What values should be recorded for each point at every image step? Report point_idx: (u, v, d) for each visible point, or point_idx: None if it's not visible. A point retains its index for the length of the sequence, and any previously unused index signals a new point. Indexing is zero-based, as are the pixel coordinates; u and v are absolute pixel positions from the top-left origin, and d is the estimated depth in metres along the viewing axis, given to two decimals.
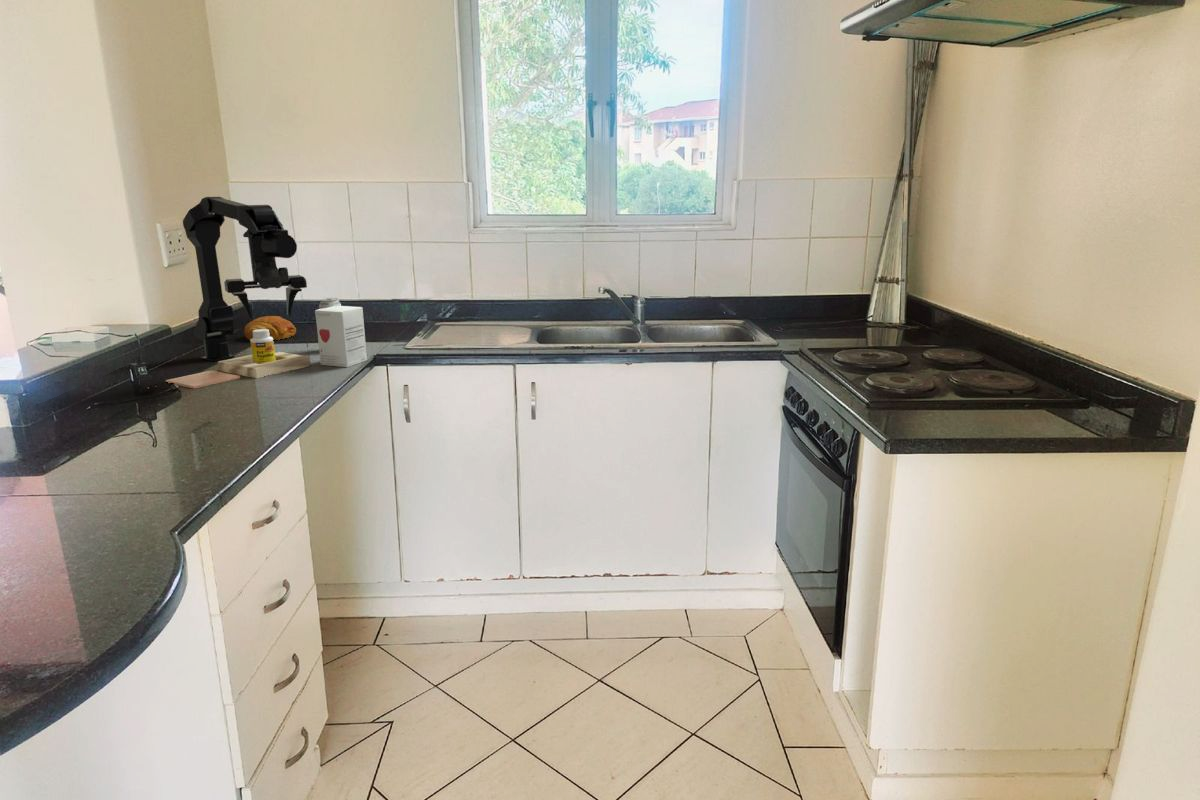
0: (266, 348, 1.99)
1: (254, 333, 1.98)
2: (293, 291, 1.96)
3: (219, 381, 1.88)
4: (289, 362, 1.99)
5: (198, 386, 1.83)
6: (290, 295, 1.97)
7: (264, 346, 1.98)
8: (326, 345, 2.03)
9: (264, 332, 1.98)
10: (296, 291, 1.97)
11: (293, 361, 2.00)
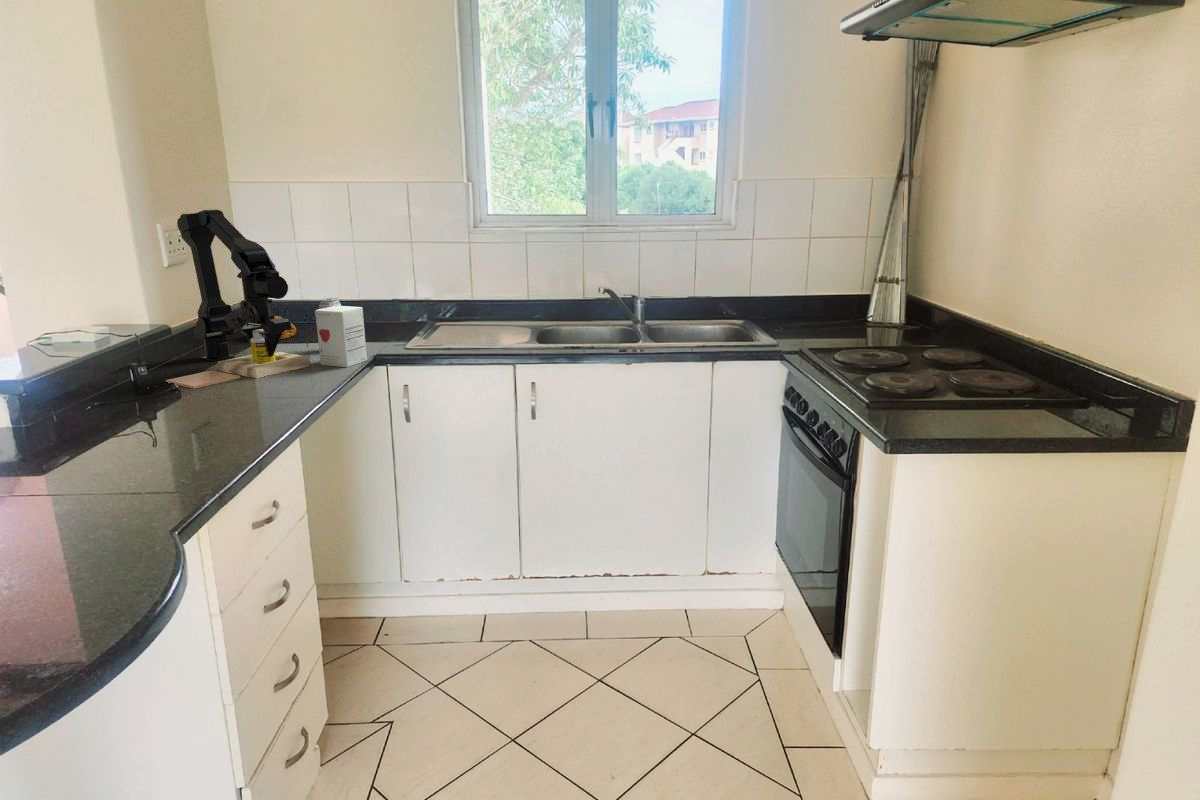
0: None
1: (254, 333, 1.98)
2: (261, 333, 1.95)
3: (219, 381, 1.88)
4: (289, 362, 1.99)
5: (198, 386, 1.83)
6: None
7: (264, 346, 1.98)
8: (326, 345, 2.03)
9: None
10: (263, 334, 1.95)
11: (293, 361, 2.00)
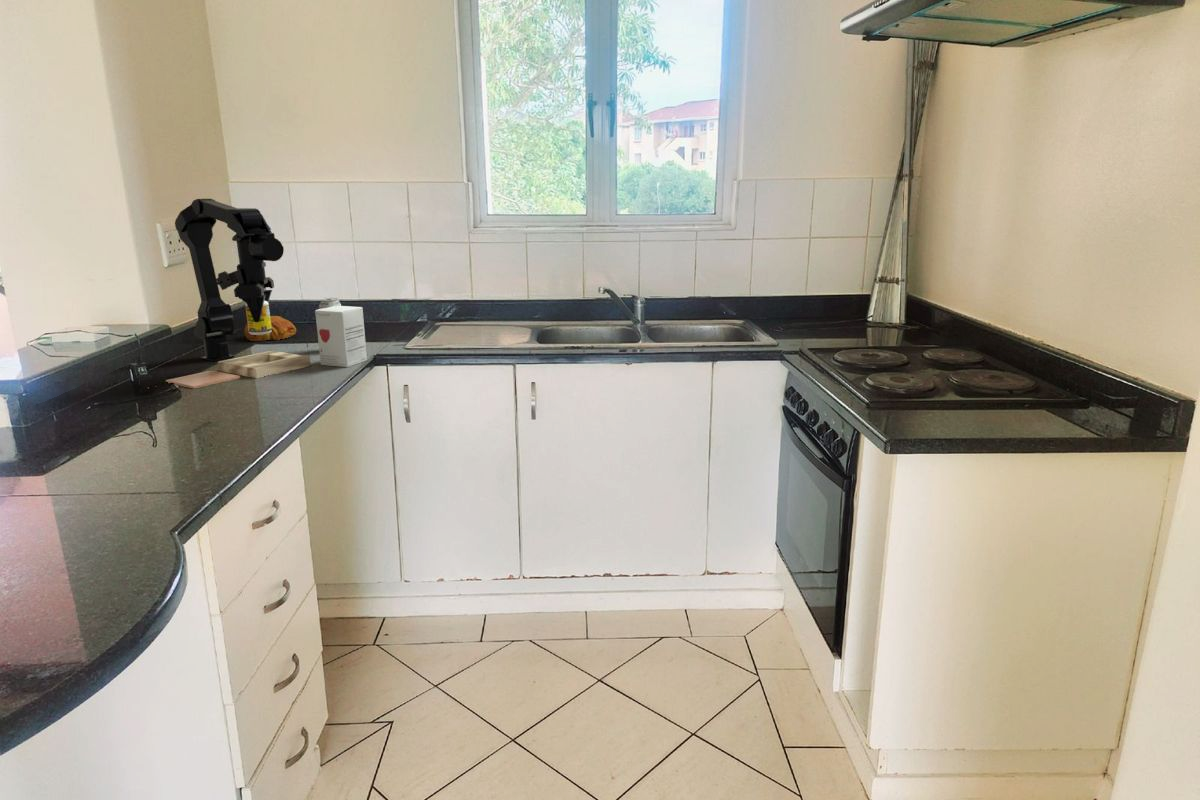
0: None
1: None
2: None
3: (219, 381, 1.88)
4: (289, 362, 1.99)
5: (198, 386, 1.83)
6: None
7: None
8: (326, 345, 2.03)
9: None
10: None
11: (293, 361, 2.00)
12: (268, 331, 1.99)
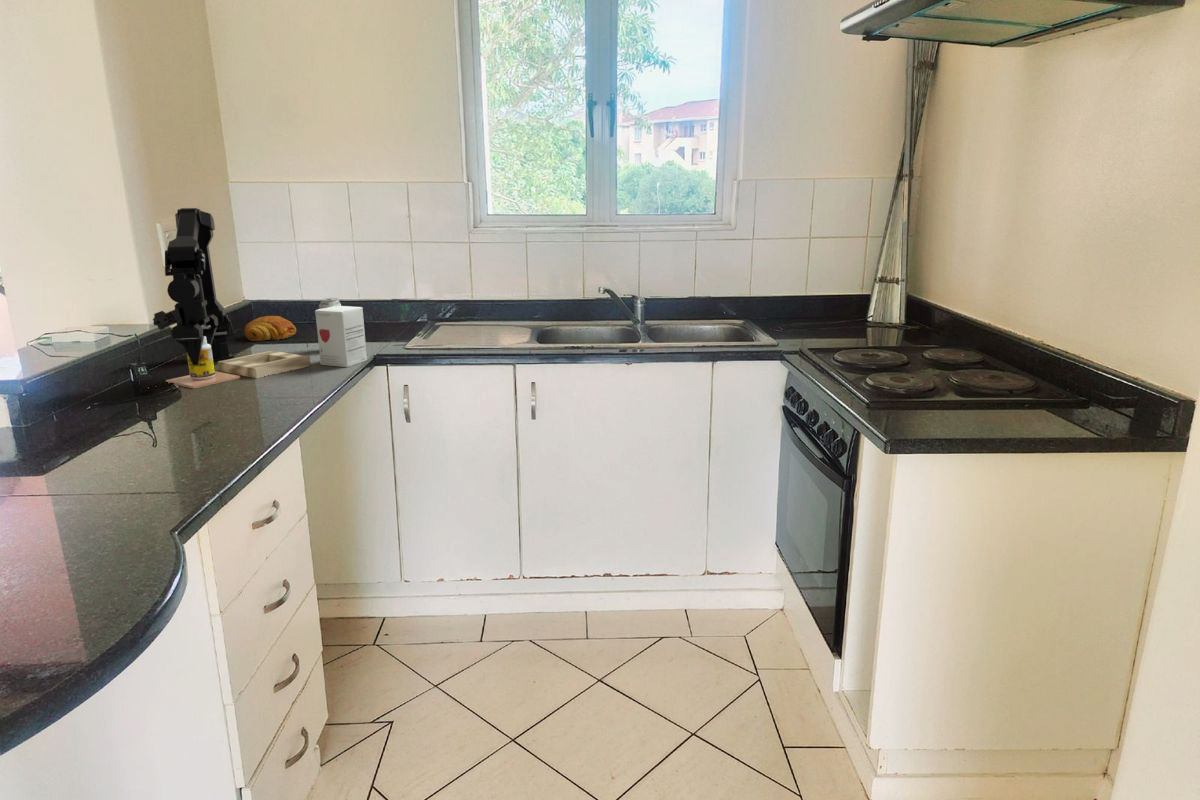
0: None
1: None
2: None
3: (219, 381, 1.88)
4: (289, 362, 1.99)
5: (198, 386, 1.83)
6: None
7: None
8: (326, 345, 2.03)
9: None
10: None
11: (293, 361, 2.00)
12: (211, 376, 1.89)
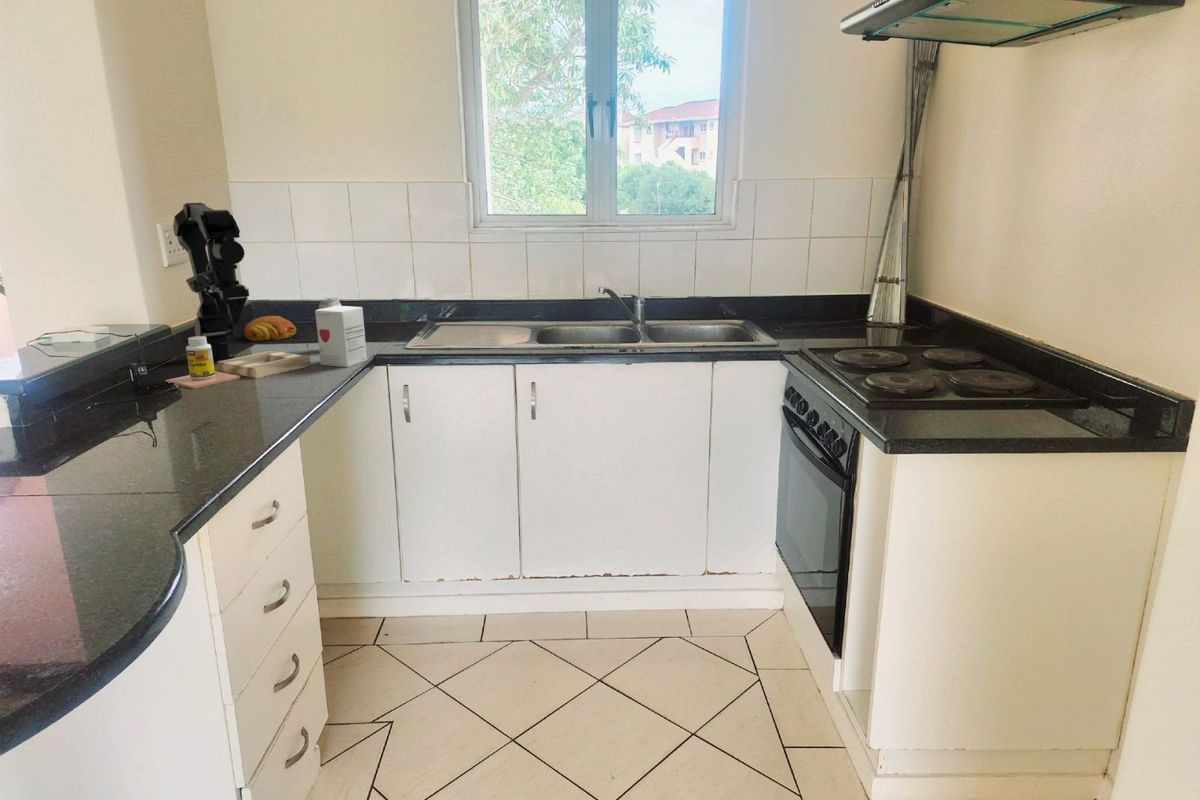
0: (197, 357, 1.86)
1: (188, 340, 1.87)
2: (221, 300, 1.91)
3: (219, 381, 1.88)
4: (289, 362, 1.99)
5: (198, 386, 1.83)
6: (226, 303, 1.93)
7: (193, 354, 1.86)
8: (326, 345, 2.03)
9: (196, 340, 1.86)
10: (222, 300, 1.91)
11: (293, 361, 2.00)
12: (211, 376, 1.89)
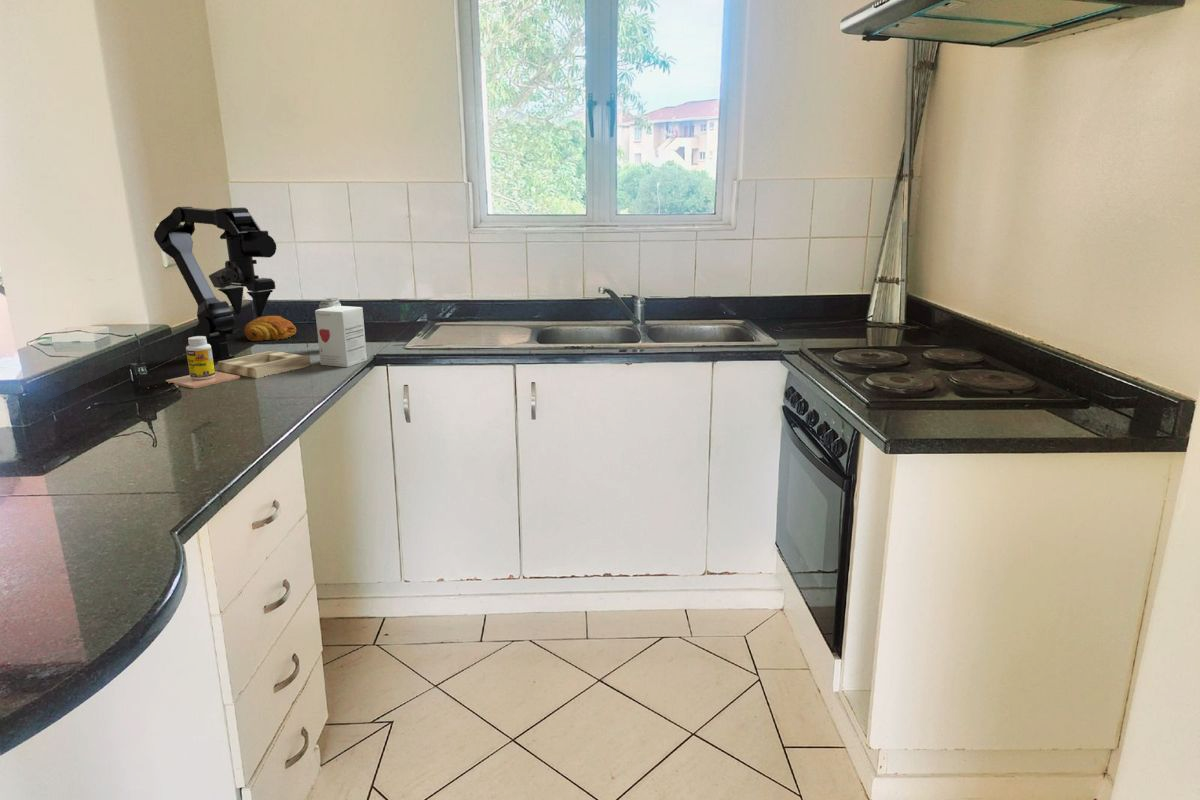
0: (197, 357, 1.86)
1: (188, 340, 1.87)
2: (249, 293, 1.99)
3: (219, 381, 1.88)
4: (289, 362, 1.99)
5: (198, 386, 1.83)
6: (252, 297, 2.00)
7: (193, 354, 1.86)
8: (326, 345, 2.03)
9: (196, 340, 1.86)
10: (251, 293, 1.98)
11: (293, 361, 2.00)
12: (211, 376, 1.89)
